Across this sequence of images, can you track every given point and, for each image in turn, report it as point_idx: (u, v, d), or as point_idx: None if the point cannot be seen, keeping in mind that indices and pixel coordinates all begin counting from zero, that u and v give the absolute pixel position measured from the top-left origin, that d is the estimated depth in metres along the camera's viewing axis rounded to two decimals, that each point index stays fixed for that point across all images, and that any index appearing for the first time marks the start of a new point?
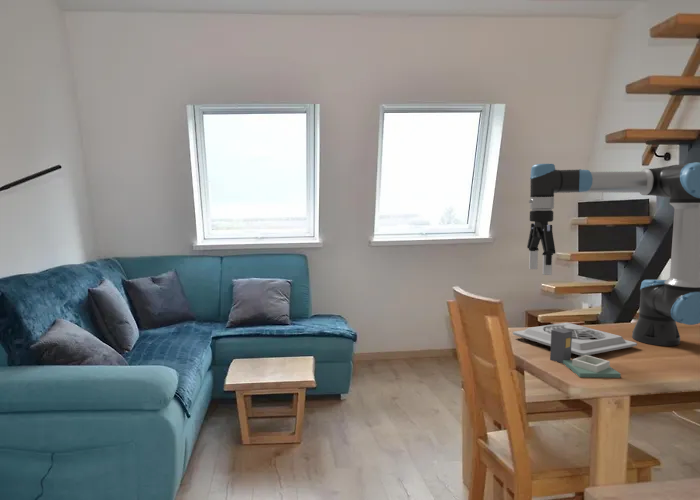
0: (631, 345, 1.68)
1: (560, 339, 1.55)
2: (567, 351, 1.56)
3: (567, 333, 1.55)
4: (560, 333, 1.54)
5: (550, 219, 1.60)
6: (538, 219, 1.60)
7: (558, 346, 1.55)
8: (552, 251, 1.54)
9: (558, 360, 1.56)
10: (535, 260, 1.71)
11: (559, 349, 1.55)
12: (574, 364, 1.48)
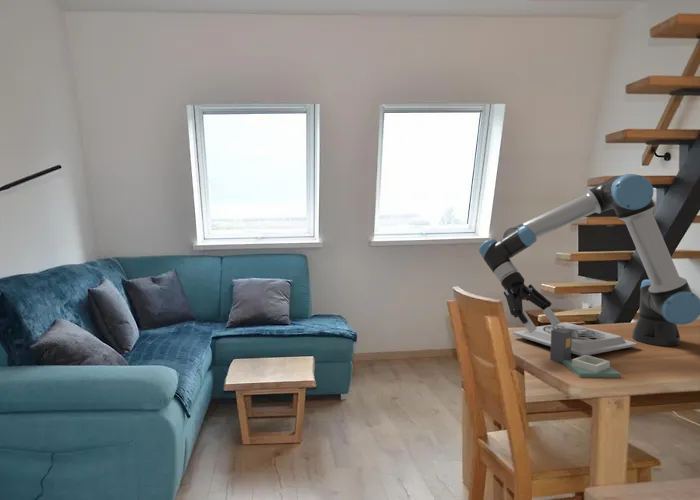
0: (631, 345, 1.68)
1: (560, 339, 1.55)
2: (567, 351, 1.56)
3: (567, 333, 1.55)
4: (560, 333, 1.54)
5: (512, 282, 1.66)
6: (505, 288, 1.69)
7: (558, 346, 1.55)
8: (513, 311, 1.58)
9: (558, 360, 1.56)
10: (552, 316, 1.65)
11: (559, 349, 1.55)
12: (574, 364, 1.48)
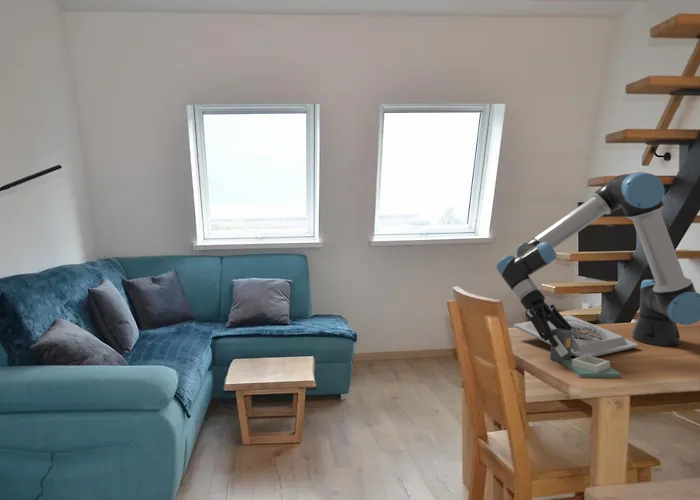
0: (631, 346, 1.67)
1: (560, 339, 1.55)
2: (568, 351, 1.56)
3: (567, 333, 1.55)
4: (560, 333, 1.54)
5: (532, 300, 1.61)
6: (525, 306, 1.64)
7: None
8: (544, 335, 1.54)
9: (558, 360, 1.56)
10: (572, 341, 1.58)
11: None
12: (574, 364, 1.48)
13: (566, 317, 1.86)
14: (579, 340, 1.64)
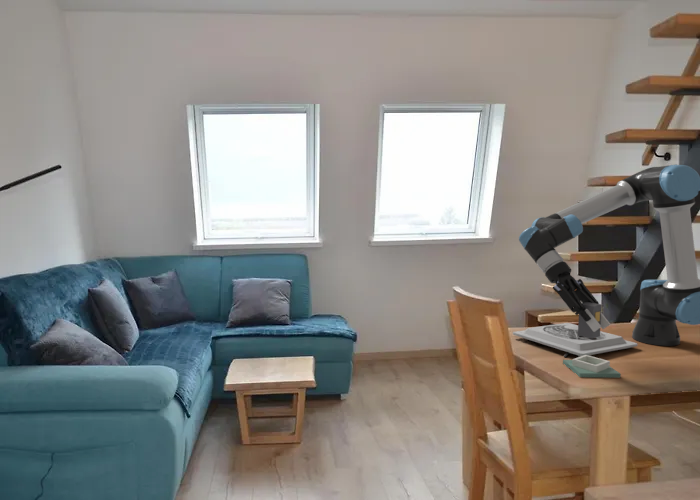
0: (631, 345, 1.67)
1: None
2: None
3: (596, 306, 1.45)
4: (589, 306, 1.45)
5: (558, 272, 1.51)
6: (550, 279, 1.54)
7: None
8: (575, 308, 1.45)
9: (587, 335, 1.46)
10: None
11: None
12: (574, 364, 1.48)
13: (565, 324, 1.87)
14: (578, 340, 1.64)
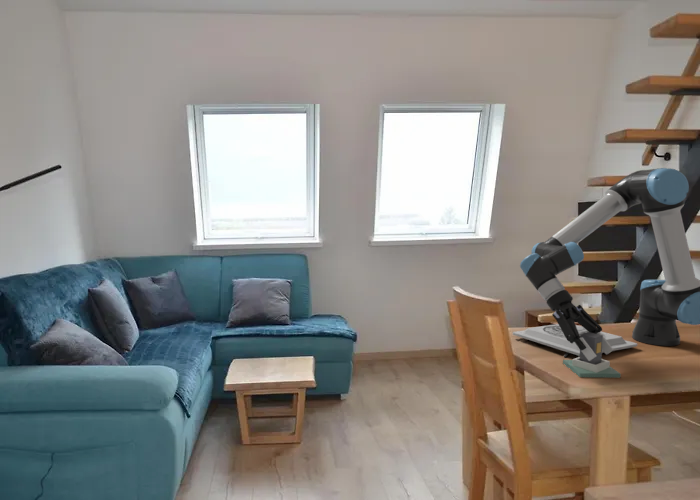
0: (631, 346, 1.67)
1: (591, 344, 1.45)
2: (598, 357, 1.46)
3: (598, 338, 1.45)
4: (590, 338, 1.45)
5: (560, 301, 1.52)
6: (551, 308, 1.54)
7: None
8: (570, 337, 1.44)
9: None
10: (604, 342, 1.49)
11: None
12: (574, 364, 1.48)
13: None
14: None
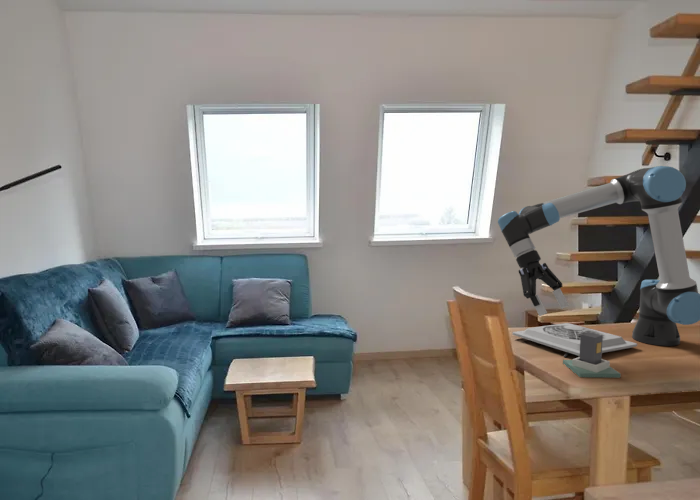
0: (631, 346, 1.67)
1: (591, 344, 1.45)
2: (598, 357, 1.46)
3: (598, 338, 1.45)
4: (590, 338, 1.45)
5: (528, 260, 1.62)
6: (520, 265, 1.65)
7: (588, 351, 1.46)
8: (527, 293, 1.56)
9: None
10: (561, 298, 1.64)
11: (589, 354, 1.46)
12: (574, 364, 1.48)
13: (564, 324, 1.87)
14: (578, 340, 1.64)
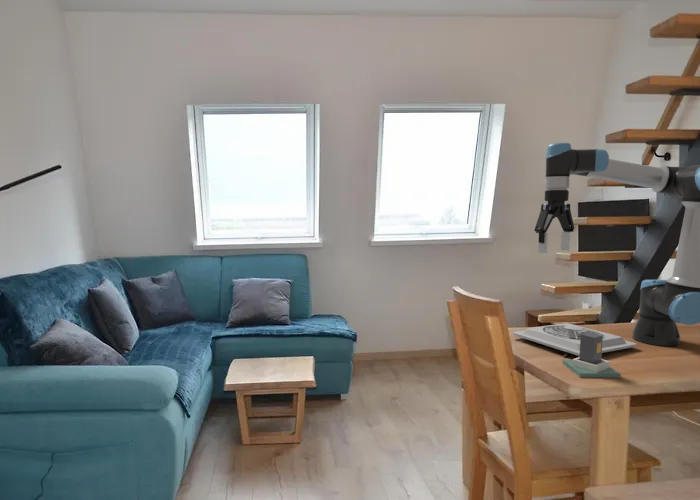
0: (631, 346, 1.67)
1: (591, 344, 1.45)
2: (598, 357, 1.46)
3: (598, 338, 1.45)
4: (590, 338, 1.45)
5: (556, 198, 1.60)
6: (545, 198, 1.64)
7: (588, 351, 1.46)
8: (538, 229, 1.59)
9: None
10: (566, 241, 1.68)
11: (589, 354, 1.46)
12: (574, 364, 1.48)
13: (564, 324, 1.87)
14: (577, 340, 1.64)
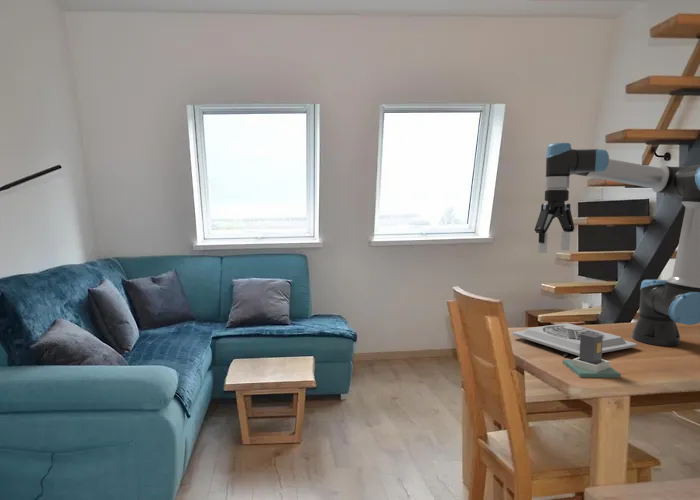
0: (631, 346, 1.67)
1: (591, 344, 1.45)
2: (598, 357, 1.46)
3: (598, 338, 1.45)
4: (590, 338, 1.45)
5: (556, 198, 1.60)
6: (545, 198, 1.64)
7: (588, 351, 1.46)
8: (538, 229, 1.59)
9: None
10: (566, 241, 1.68)
11: (589, 354, 1.46)
12: (574, 364, 1.48)
13: (564, 324, 1.87)
14: (577, 340, 1.64)
